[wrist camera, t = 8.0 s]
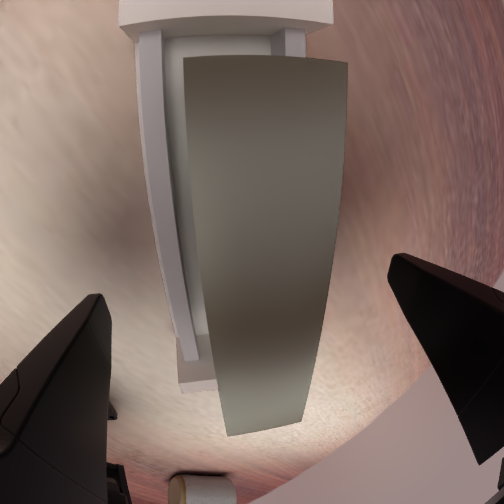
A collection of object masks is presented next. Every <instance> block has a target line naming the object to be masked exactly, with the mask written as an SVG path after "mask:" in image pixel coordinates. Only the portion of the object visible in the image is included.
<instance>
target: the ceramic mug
mask: <svg viewBox="0 0 504 504" xmlns="http://www.w3.org/2000/svg"><path fill="white" fill-rule="evenodd" d="M168 504H237V497H236V491H235V488H234V485H233V483H232V481H231V480H230V479H229V478H227V477H223V476H197V475H176V476H175V477H173V478H172V480H171V481H170V484H169V488H168Z"/></svg>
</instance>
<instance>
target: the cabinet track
mask: <svg viewBox="0 0 504 504" xmlns="http://www.w3.org/2000/svg"><path fill="white" fill-rule="evenodd" d="M330 25H333V1H332V0H119V27H120V28H121V29H122V30H123V31H124V32H125V33H126V34H127V35H128V36H129V37H130V38H131V39H132V40H133V41H134V42H135V61H136V85H137V102H138V115H139V127H140V137H141V147H142V156H143V165H144V173H145V180H146V188H147V195H148V202H149V208H150V215H151V221H152V227H153V233H154V238H155V244H156V249H157V254H158V260H159V265H160V270H161V275H162V279H163V284H164V289H165V293H166V298H167V302H168V307H169V311H170V315H171V319H172V323H173V327H174V331H175V335H176V346H177V365H178V381H179V386H180V389H181V392H182V393H191V392H200V391H207V390H215V389H218V385H217V380H216V374H215V368H214V362H213V356H212V350H211V344H210V338H209V332H208V325H207V318H206V312H205V305H204V298H203V290H202V283H201V275H200V268H199V259H198V251H197V243H196V234H195V225H194V215H193V205H192V195H191V184H190V173H189V160H188V147H187V133H186V117H185V98H184V74H183V58H184V57H197V56H214V55H275V56H292V57H305V58H306V46H305V35H306V34H308V33H311V32H314V31H316V30H319V29H322V28H325V27H328V26H330Z"/></svg>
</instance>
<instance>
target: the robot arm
mask: <svg viewBox="0 0 504 504" xmlns="http://www.w3.org/2000/svg"><path fill="white" fill-rule="evenodd" d="M387 278H388V283H389V285H390V287H391V289H392V291H393V293H394V295H395V297H396V299H397V301H398V303H399V305H400V307H401V309H402V311H403V313H404V315H405V317H406V319H407V321H408V323H409V325H410V326H411V328H412V330H413V331H414V333H415V335H416V337H417V338H418V340H419V342H420V344H421V346H422V347H423V349H424V351H425V353H426V355H427V356H428V358H429V360H430V362H431V364H432V366H433V368H434V369H435V371H436V373H437V375H438V377H439V379H440V381H441V383H442V385H443V387H444V389H445V391H446V393H447V395H448V397H449V399H450V401H451V403H452V405H453V407H454V409H455V411H456V414H457V415H458V418H459V421H460V423H461V425H462V427H463V429H464V432H465V434H466V436H467V439H468V441H469V443H470V446H471V448H472V450H473V453H474V455H475V458H476V460H477V463H478V464H479V465H481V464H482V463H484V462H485V461H486V460H487V459H489V458H490V457H491V456H493V455H494V454H495V453H496V452H497V451H499V450H500V449H501V448H502V447H504V292H501V291H499V290H497V289H495V288H492V287H491V288H490V286H487V285H485V284H483V283H480V282H478V281H475V280H473V279H470V278H468V277H466V276H463V275H461V274H458V273H456V272H453V271H451V270H448V269H446V268H443V267H440V266H438V265H435V264H433V263H430V262H427V261H425V260H422V259H420V258H417V257H414V256H412V255H409V254H406V253H399V254H395V255H393V257H392V259H391V263H390V267H389V271H388V275H387ZM111 335H112V320H111V315H110V312H109V310H108V307H107V304H106V302H105V299H104V297H103V295H102V294H100V293H98V294H89V295H88V296H86V297H85V298H84V299H83V300H82V301H81V302H80V303H79V304H78V305H77V306H76V307H75V308H74V309H73V310H72V311H71V312H70V313H69V314H68V315H67V316H65V317H64V318H63V319H62V320H61V321H60V322H59V323H58V324H57V325H56V326H55V327H54V328H53V329H52V330H51V331H50V332H49V333H48V334H47V335H46V336H45V337H44V338H43V339H42V340H41V341H40V342H39V344H38V345H37V346H36V347H35V348H34V349H33V350H32V351H31V352H30V353H29V354H28V355H27V356H26V357H25V358H24V359H23V360H22V361H21V362H20V364H19V365H18V366H17V369H16V368H15V369H14V370H13V371H12V372H11V373H10V374H9V376H8V377H7V378H6V379H5V380H4V381H3V382H2V383H1V384H0V504H132V502H131V498H130V494H129V490H128V485H127V480H126V476H125V471H124V466H123V465H119V464H112V463H108V462H106V448H107V420H116V419H117V413H116V412H115V410H114V409H113V407H112V406H111V404H110V403H109V389H110V378H111ZM498 489H499V492H497V493H496V494H495V495H494V496H493V497H492V498H491V499H490V500H488V501H487V502H486V503H485V504H504V458H502V464H501V470H500V476H499V482H498Z"/></svg>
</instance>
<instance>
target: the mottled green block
mask: <svg viewBox="0 0 504 504" xmlns="http://www.w3.org/2000/svg"><path fill="white" fill-rule="evenodd" d="M183 74H184V98H185V117H186V133H187V147H188V160H189V173H190V184H191V195H192V205H193V215H194V225H195V234H196V243H197V251H198V259H199V268H200V275H201V283H202V290H203V298H204V305H205V312H206V318H207V325H208V332H209V338H210V344H211V350H212V356H213V362H214V368H215V374H216V380H217V385H218V391H219V396H220V401H221V407H222V412H223V417H224V422H225V427H226V432H227V437H228V436H234V435H240V434H246V433H252V432H257V431H262V430H267V429H272V428H276V427H281V426H285V425H290V424H294V423H298V422H301V421H302V417H303V413H304V409H305V405H306V401H307V397H308V392H309V388H310V384H311V379H312V375H313V370H314V365H315V361H316V356H317V351H318V346H319V341H320V336H321V331H322V325H323V320H324V314H325V309H326V303H327V297H328V291H329V284H330V278H331V271H332V264H333V257H334V250H335V243H336V235H337V226H338V218H339V209H340V199H341V189H342V178H343V166H344V152H345V136H346V117H347V85H348V63H347V62H340V61H332V60H324V59H315V58H305V57H292V56H275V55H214V56H197V57H184V58H183Z"/></svg>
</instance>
